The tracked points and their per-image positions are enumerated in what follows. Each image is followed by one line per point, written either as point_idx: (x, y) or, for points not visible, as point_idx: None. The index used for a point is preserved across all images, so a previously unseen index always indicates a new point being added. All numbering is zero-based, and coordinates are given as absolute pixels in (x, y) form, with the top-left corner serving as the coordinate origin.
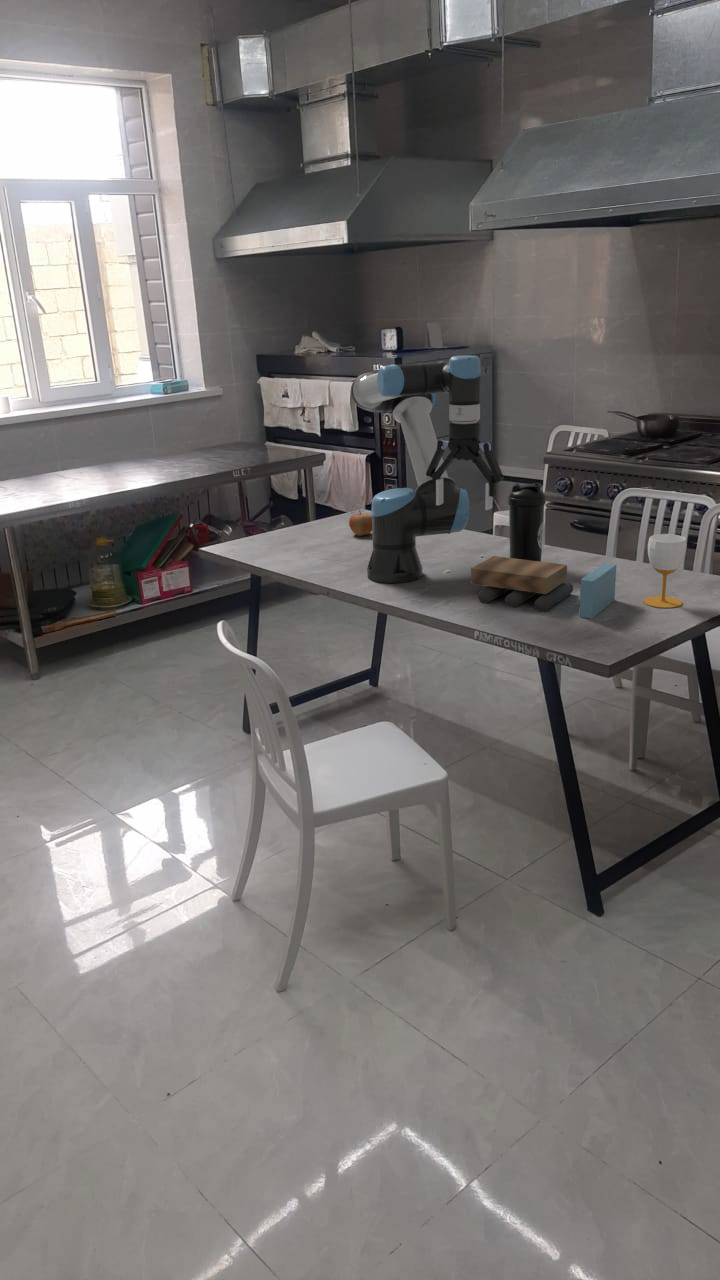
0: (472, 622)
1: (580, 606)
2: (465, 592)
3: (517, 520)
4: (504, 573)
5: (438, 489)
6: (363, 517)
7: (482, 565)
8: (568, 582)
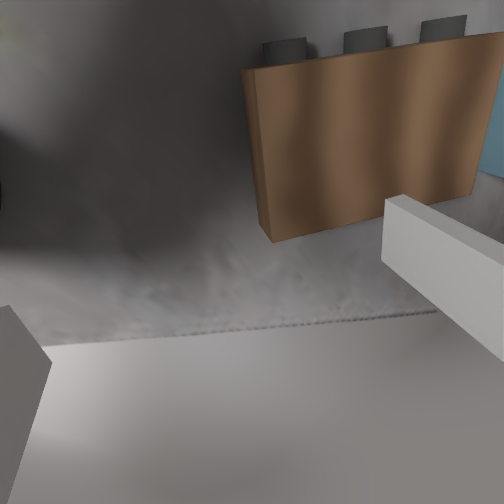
0: (324, 304)
1: (497, 174)
2: (207, 178)
3: None
4: (366, 218)
5: (9, 495)
6: None
7: (284, 201)
8: (463, 22)
